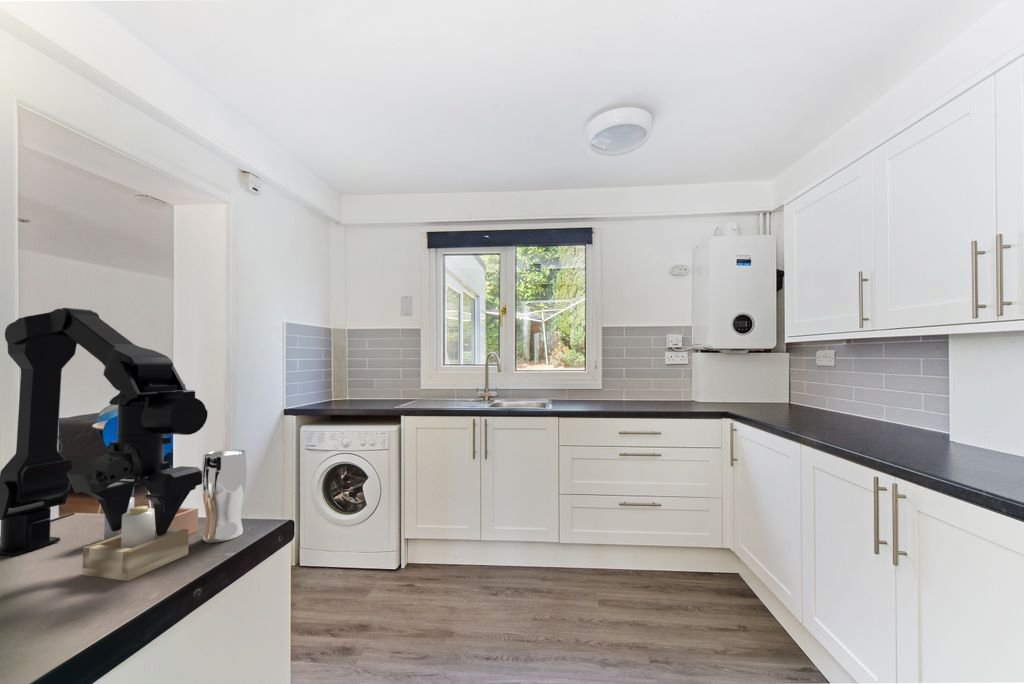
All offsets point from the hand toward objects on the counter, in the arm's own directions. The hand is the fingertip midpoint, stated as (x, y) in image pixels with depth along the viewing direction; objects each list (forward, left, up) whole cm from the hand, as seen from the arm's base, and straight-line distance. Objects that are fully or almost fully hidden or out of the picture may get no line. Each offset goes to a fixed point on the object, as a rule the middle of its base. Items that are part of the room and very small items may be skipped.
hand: (138, 532), depth 68 cm
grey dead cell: (-15, +7, -5) cm, 17 cm away
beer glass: (+4, +12, -5) cm, 13 cm away
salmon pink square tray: (-7, +9, -5) cm, 13 cm away
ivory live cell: (0, 0, -4) cm, 4 cm away
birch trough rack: (0, 0, -5) cm, 5 cm away
